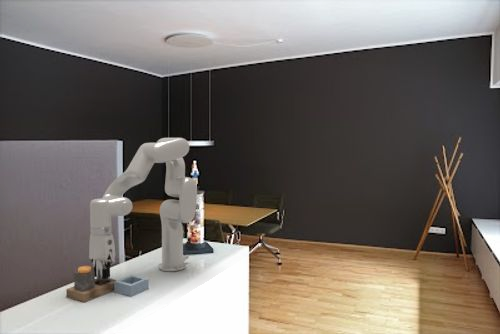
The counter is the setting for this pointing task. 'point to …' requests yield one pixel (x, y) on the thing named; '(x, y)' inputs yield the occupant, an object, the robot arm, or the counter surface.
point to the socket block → (88, 287)
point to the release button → (84, 269)
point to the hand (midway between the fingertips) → (102, 276)
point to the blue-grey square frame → (131, 285)
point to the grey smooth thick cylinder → (100, 273)
